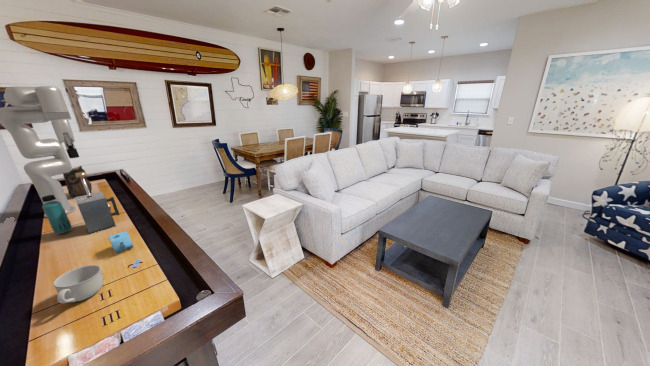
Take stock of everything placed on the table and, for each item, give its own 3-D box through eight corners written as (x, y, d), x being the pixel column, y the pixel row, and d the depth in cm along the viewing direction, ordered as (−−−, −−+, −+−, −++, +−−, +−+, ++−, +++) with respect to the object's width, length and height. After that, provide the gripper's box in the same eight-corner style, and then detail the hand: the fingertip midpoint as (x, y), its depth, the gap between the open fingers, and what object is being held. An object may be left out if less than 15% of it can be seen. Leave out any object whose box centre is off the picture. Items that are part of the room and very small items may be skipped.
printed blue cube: (135, 252, 101) (130, 236, 98) (117, 259, 96) (111, 243, 94) (129, 241, 108) (124, 227, 106) (112, 247, 104) (107, 232, 101)
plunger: (81, 207, 118) (68, 173, 112) (102, 202, 123) (90, 169, 117) (83, 211, 113) (69, 176, 107) (105, 205, 118) (92, 172, 112)
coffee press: (87, 227, 121) (74, 197, 116) (119, 218, 131) (109, 189, 125) (89, 234, 115) (76, 202, 110) (123, 223, 125) (113, 194, 119)
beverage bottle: (61, 237, 113) (43, 199, 107) (51, 235, 115) (33, 198, 108) (77, 230, 119) (61, 193, 113) (67, 229, 121) (51, 192, 114)
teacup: (83, 283, 83) (74, 264, 81) (115, 280, 84) (108, 262, 82) (42, 317, 70) (30, 296, 68) (81, 314, 71) (70, 293, 68)
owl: (94, 190, 174) (84, 164, 167) (94, 195, 166) (84, 167, 159) (69, 195, 166) (58, 168, 159) (69, 200, 157) (56, 172, 151)
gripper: (45, 117, 105) (61, 157, 112) (45, 117, 96) (63, 161, 102) (69, 115, 111) (83, 154, 117) (71, 116, 101) (87, 158, 107)
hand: (74, 157), depth 109 cm, fingers closed
